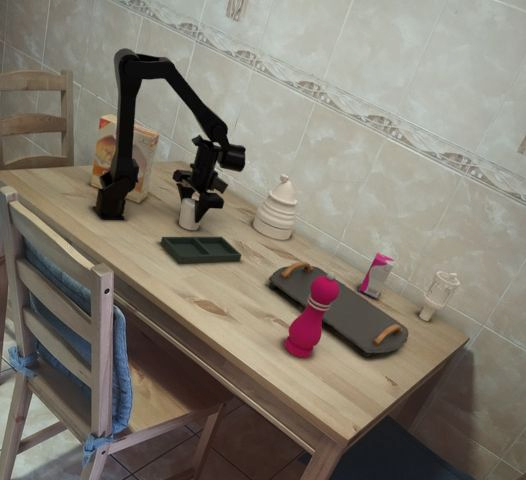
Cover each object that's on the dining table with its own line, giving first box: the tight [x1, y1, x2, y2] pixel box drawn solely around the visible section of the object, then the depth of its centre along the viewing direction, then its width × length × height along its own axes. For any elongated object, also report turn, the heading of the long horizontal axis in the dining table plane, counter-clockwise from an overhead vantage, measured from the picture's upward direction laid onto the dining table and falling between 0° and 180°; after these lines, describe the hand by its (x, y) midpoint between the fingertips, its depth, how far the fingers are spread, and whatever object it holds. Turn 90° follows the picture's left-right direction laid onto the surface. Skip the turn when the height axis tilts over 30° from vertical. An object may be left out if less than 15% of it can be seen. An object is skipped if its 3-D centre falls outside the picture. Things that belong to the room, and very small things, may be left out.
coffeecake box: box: [90, 113, 160, 204], centre depth 145 cm, size 15×7×20 cm, turn 82°
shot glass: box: [178, 197, 202, 231], centre depth 145 cm, size 7×7×7 cm
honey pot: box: [252, 173, 299, 241], centre depth 161 cm, size 13×13×18 cm
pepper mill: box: [284, 271, 339, 358], centre depth 108 cm, size 7×7×20 cm
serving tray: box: [268, 261, 409, 359], centre depth 132 cm, size 39×23×6 cm, turn 49°
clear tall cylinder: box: [419, 270, 461, 322], centre depth 146 cm, size 7×7×15 cm
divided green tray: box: [160, 236, 242, 265], centre depth 135 cm, size 19×10×2 cm, turn 128°
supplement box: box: [358, 252, 396, 300], centre depth 148 cm, size 6×6×12 cm
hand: (190, 217), depth 145 cm, fingers closed on shot glass, 6 cm apart
